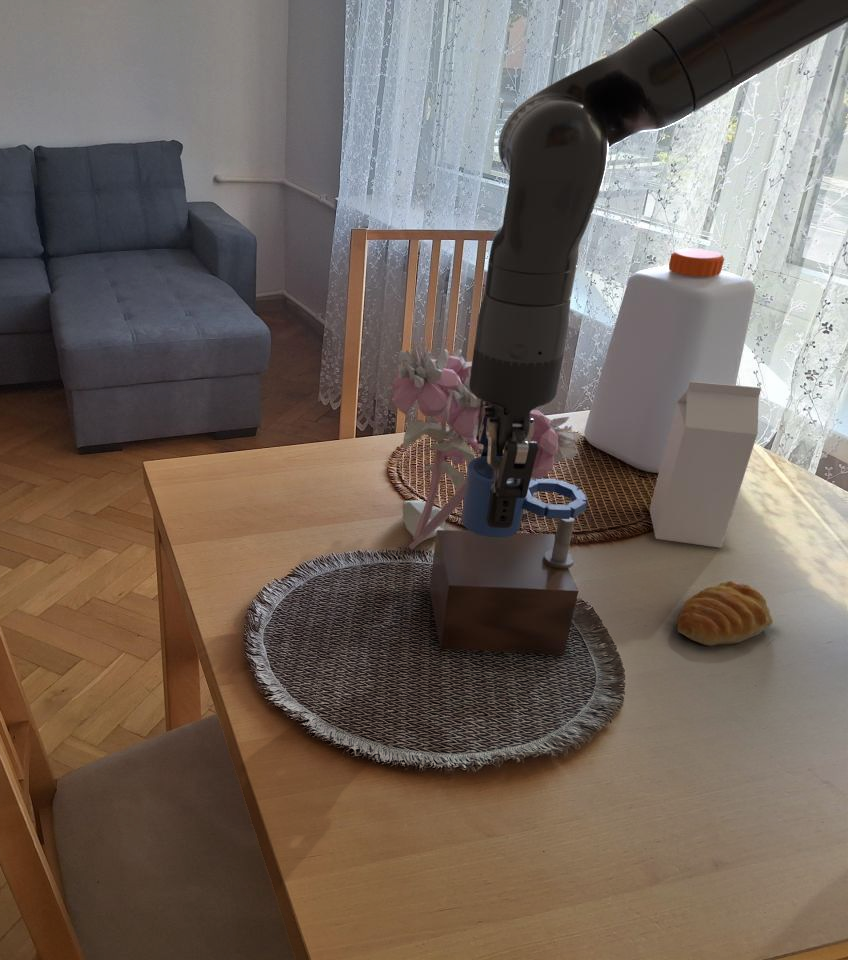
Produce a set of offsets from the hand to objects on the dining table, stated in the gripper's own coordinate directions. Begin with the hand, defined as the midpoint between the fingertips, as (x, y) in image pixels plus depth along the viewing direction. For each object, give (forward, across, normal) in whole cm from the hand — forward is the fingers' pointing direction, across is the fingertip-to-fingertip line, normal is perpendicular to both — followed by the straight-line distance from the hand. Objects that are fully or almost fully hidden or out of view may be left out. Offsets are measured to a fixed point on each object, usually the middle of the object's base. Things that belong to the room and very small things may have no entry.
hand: (493, 508), depth 84 cm
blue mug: (+2, 0, -3) cm, 3 cm away
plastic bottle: (+14, +42, -31) cm, 54 cm away
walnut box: (+14, 0, -2) cm, 14 cm away
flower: (+14, +21, -3) cm, 25 cm away
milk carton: (+14, +20, -28) cm, 37 cm away
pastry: (+14, +1, -25) cm, 28 cm away
